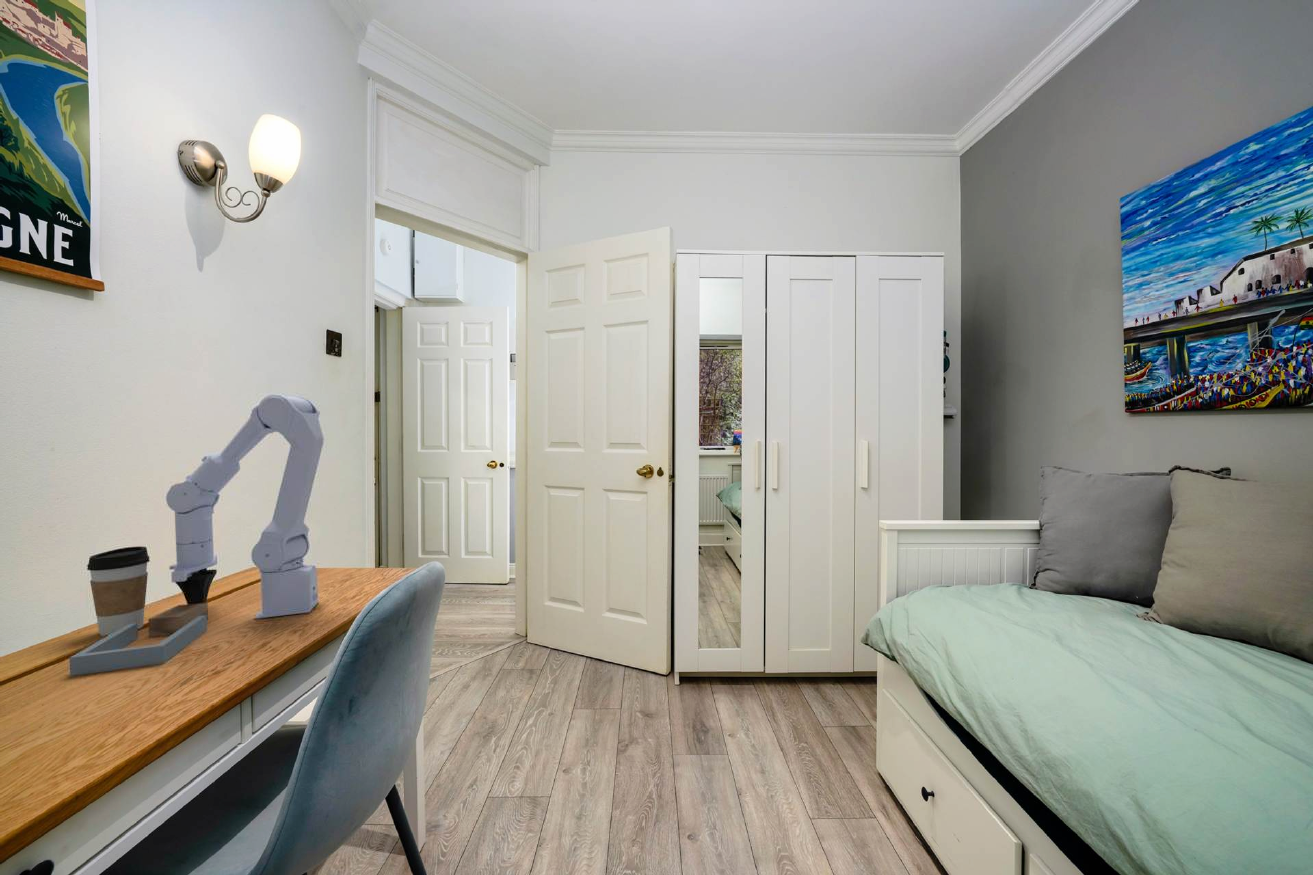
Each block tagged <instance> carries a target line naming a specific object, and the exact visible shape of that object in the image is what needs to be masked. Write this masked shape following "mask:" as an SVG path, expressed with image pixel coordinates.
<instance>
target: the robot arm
mask: <svg viewBox="0 0 1313 875" xmlns="http://www.w3.org/2000/svg"><path fill="white" fill-rule="evenodd" d="M319 417H320V410H319V409H318V408H317V407H316V406H315V405H314V403H313V402H311V400H309V398H308V399H307V398H305V397H301V396H299V397H293V396H286V395H285V396H284V395H280V394H270V395H268V396H265V397H264V398H263V399H262V400H261V401H260V402H259V405H256V406H255V407H254V408H252V410H251V413H250V417H249V418H248V419H247V420H246V422H245V423H244V424H243V425H242V427H241V428H240V429H239V430H238V431H237V433H236V434H235V435H234V437H233V438H232V439H231V440H230V441H229V442H228V444H227V445H226V446H225V447H224V448H223V450H222V451H221V452H212V453H210V455H205V456H204V457H202V458H201V461H202V463H201V464H200V465H199V466H198V467H197V468H196V469H195V470H194V471H193V472H192V474H188V475H187V476H186V477H185V481H183V482H179V483H175V484H173V485H171V486H170V488H169V490H168V491H167V493H166V497H165V499H166V503H167V507H168V508H169V509H170V510H172V511H173V512H174V526H175V527H174V528H175V531H174V532H175V553H176V556H175V557H176V563H175V564H171V565H169V568H168V569H169V570H172V572H171V573H170V575H171V583H175V584H176V585H177V586H178V588H179V589H180V590H181V592H182V594H183V596H184V599H185V601H186V605H188V604H201V603H207V601H208V595H209V591H210V588H211V584H212V582H213V580H214V578H215V577H216V575H217V573H218V572H217V571H218V570H217V569H216V568H215V569H208V568H210V567H211V568H212V567H214V566H215V565H218V556H217V555H215V554H214V530H213V514H214V513H215V512H214V508H215V506H216V505H217V504H218V502H219V499H220V494H219V493H220V492H221V491H222V490H223V489H224V487H226V486H227V485H228V484H229V483H230V481H231V480H232V479H234V477H235V476H236V475H237V474H238V473H239V472H240V470H241V466H240V464H241V463H240V461H241V460H242V459H243V458H244V457H245V456H246V455H247V454H248V453H249V452H251V451H252V450H253V449H254V448H255V447H256V446H257V445H258V444H259V443H260V442H261V441H262V440H263V439H264V438H265V437H266V436H267V435H270V434H273V433H279V434H280V435H282V436H283V438H284V439H285V440H286V441H287V442H288V444H289V445H290V447H289V452H288V456H287V460H286V464H285V468H284V472H283V475H282V479H281V484H280V487H279V491H278V495H277V500H276V503H275V508H274V511H273V516H272V519H271V521H270V522H269V523H268V525H267V526H266V527H264V530H262V532H261V535H260V538H259V540H258V541H257V543H256V544H255V545H254V546H253V548H252V549H251V555H250V556H251V561H252V563H253V564H254V566H255V567H256V568H258V569H259V573H260V588H261V589H260V590H261V593H260V594H261V596H260V598H261V610H260V611H258V613H257V614H255V615H254V616H253V618H254V619H262V618H272V617H280V616H288V615H290V616H291V615H297V614H307V613H310V612H311V611H312V610H313V609H314V607H316V605H317V604H318V603H319V602H320V601H319V600H320V599H319V592H318V590H319V588H318V571H317V567H316V565H314V564H313V565H308V564H307V565H305V564H304V558H305V557H306V555H307V554H308V553H309V550H310V541H309V537H308V536H309V531H310V529H309V527H308V526H307V525H306V524H305V518H306V515H307V514H306V513H307V510H308V506H309V502H310V497H311V494H312V490H313V486H314V481H315V478H316V473H317V470H318V466H319V462H320V458H321V454H322V451H323V450H322V449H323V446H324V439H325V438H324V436H323V430H322V428H321V425H320V421H319Z"/></svg>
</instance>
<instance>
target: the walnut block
mask: <svg viewBox="0 0 1313 875" xmlns="http://www.w3.org/2000/svg"><path fill="white" fill-rule="evenodd" d="M208 606H209V605H208V602H206V603H201V604H188V605H187V604H178V605H176V606H174V607H172V608H169V609H167V610H165V611H163V612H160V613H158V614H156V615H154V616H152V617H150V618H148V637H149V638H151V637H160V636H161V637H162V636H171V635H172V634H173V633H175V632H176V631H178V630H179V629H181V628H182V627H184V626H185V625H187V624H188V623H189V622H191V621H192V620H194V619H195V618H197V617H198V616H203V615H207V621H208V620H209V610H208V609H209V608H208Z"/></svg>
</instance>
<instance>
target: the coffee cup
mask: <svg viewBox="0 0 1313 875" xmlns="http://www.w3.org/2000/svg"><path fill="white" fill-rule="evenodd" d="M149 562H150V556H149V553H148V550H147V547H146V546H141V545H140V546H138V545H137V546H129V547H121V548H117V549H116V548H115V549H112V550H108V551H105V552H104V551H103V552H101V553H97V554H93V555H91V556H90V557H89V560H88V564H87V565H86V567H87V569H86V570H87V571H89V572H90V578H91V580H90V581H89V582H90V587H91V594H92V600H93V605H94V610H95V615H96V620H97V629H98V634H99V635H100V636H102V637H107V636H106V635H110V634H112V633H114V632H116V631H118V630H119V629H121V628H123V627H125V626H126V625H128V624H134V623H137V628H138V630H140V629H141V628H143V627H144V624H145V623H144V622H145V621H144V620H145V619H144V618H145V607H146V599H147V597H146V596H147V587H148V586H147V584H148V577H149V576H148V575H149V572H147V570H148V563H149Z"/></svg>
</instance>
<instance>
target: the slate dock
mask: <svg viewBox="0 0 1313 875" xmlns="http://www.w3.org/2000/svg"><path fill="white" fill-rule="evenodd" d="M138 630H139V629H138V628H137V623H134V624H128V625H126V626H125V627H123V628H121V629H119V630H118V631H116V632H114V633H112V634H110V635H109V636H104V637H103V638H102V639H100V640H98V641H96V642H94V643H93V644H91V645H89V646H88V647H86V648H84V649H82V650H81V651H78V652H77V653H75V654H74V655H72V656H70V657H69V676H70V677H73V676H74V677H75V676H79V675H80V676H81V675H88V674H94V673H101V672H102V673H104V672H109V671H117V670H125V669H131V668H139V667H145V666H146V667H147V666H152V665H153V666H154V665H160V664H165V663H166V662H168V661H169V660H170V659H171V658H173V657H174V656H175V655H176V654H179V653H180V651H182V650H183V649H184V648H186V647H187V646H189V645H190V644H191V643H193V642H194V641H195V640H196V639H198V638H199V637H201V636H202V635H203V634H204V633H206V632H207V631H208V620H207V615H203V616H198V617H197V618H195V619H194V620H192V621H191V622H189V623H188V624H187V625H185V626H184V627H182V628H181V629H179V630H178V631H176V632H175V633H173V634H172V635H168V636H167V637H166V638H164V639H163V640H162V641H161V642H159V643H158V644H157V643H156V644H151V645H150V644H149V645H142V646H133V647H127V646H128V645H130V644H131V643H134V642H135V641H136V640H138V638H139V631H138ZM125 647H126V648H125Z"/></svg>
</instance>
